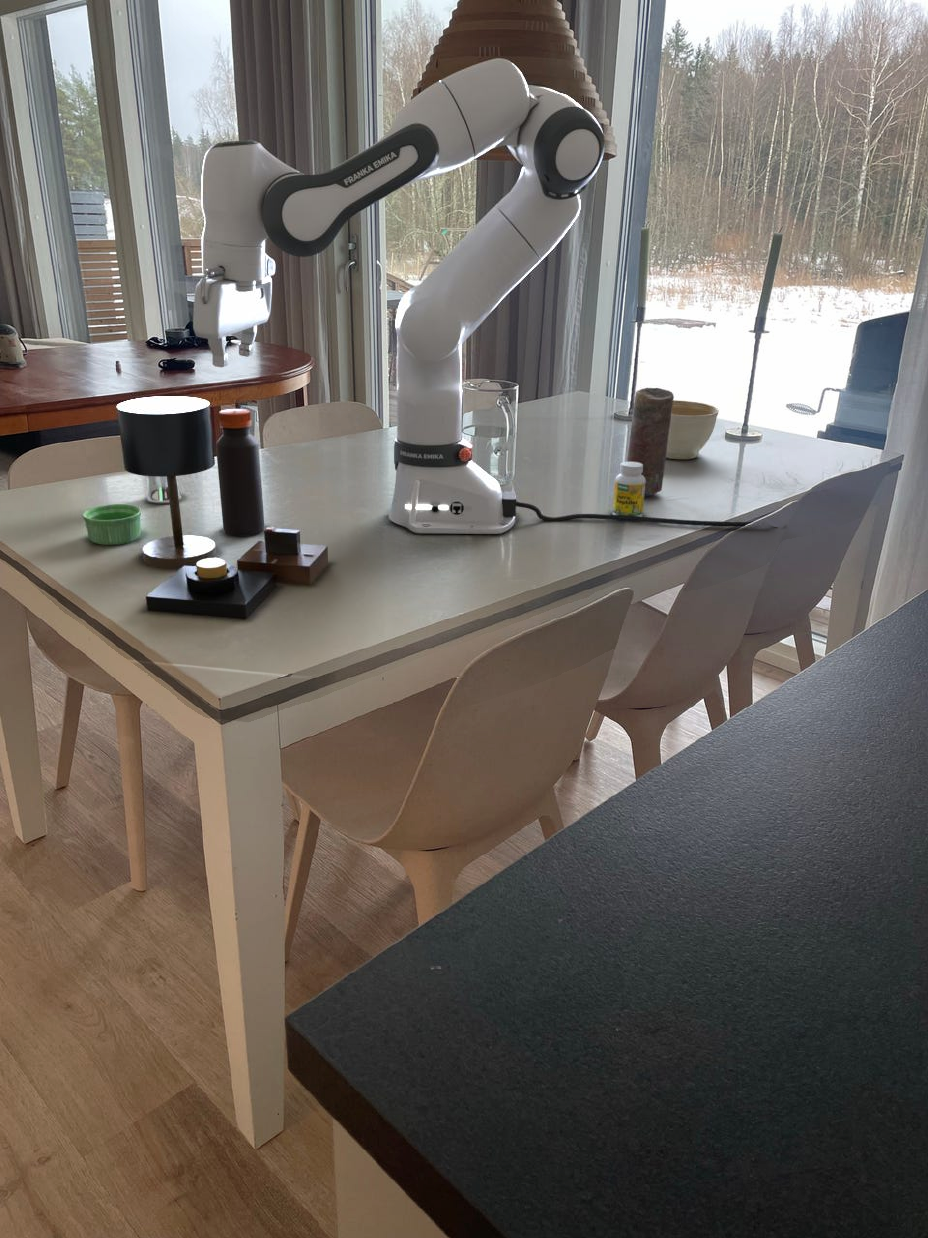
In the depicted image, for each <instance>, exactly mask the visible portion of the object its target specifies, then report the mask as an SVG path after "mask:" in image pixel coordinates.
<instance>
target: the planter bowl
mask: <svg viewBox="0 0 928 1238" xmlns="http://www.w3.org/2000/svg"><path fill="white" fill-rule="evenodd" d="M719 412H720V410H719V408H718V407H716V406H713V405H711V404H707V403H704V402H697V401H689V400H674V399H673V406H672V413H671V421H670V428H669V435H668V444H667V452H666V459H670V460H671V459H672V460H687V461H688V460H692V459H695V458H698V455H699V452H700V450H702V449H703V447H705V446H706V444H707V442H708V441H709V439H710V438H711V437H712V434H713V432H714V429H715V426H716V422H717V419H718V415H719Z"/></svg>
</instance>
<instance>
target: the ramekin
mask: <svg viewBox="0 0 928 1238" xmlns="http://www.w3.org/2000/svg"><path fill="white" fill-rule="evenodd" d="M141 516H142V509H141V507H139V506H137V505H134V504H129V503H128V504H126V503H113V504H103V505H99V506H94V507H91V508H89V509H87V510H85V511H83V513H82V519H83V521H84V523H85V527H86V532H87V535H88V539H89V540H90V541H91V542H92V543H95V544H98V545H104V546H114V545H115V546H116V545H122V544H123V545H124V544H127V543H131V542H134V541H136V540H138V539H139V538H140V537H141V535H142V534H141V533H142V527H141V523H142V522H141Z"/></svg>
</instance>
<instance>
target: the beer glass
mask: <svg viewBox="0 0 928 1238" xmlns="http://www.w3.org/2000/svg"><path fill="white" fill-rule="evenodd" d="M176 478H177V479H178V476H176ZM146 480H147V493H146V499H147V502H149V503H152V504H158V505H159V504H160V505H162V504H165V505H166V504H170V502H169V494H168V485H167V477H154V476H146ZM178 481H179V480H177V487H178V497H179V501H181V500H182V493H181V490H180V486H179V482H178Z"/></svg>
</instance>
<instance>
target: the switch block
mask: <svg viewBox="0 0 928 1238" xmlns="http://www.w3.org/2000/svg"><path fill="white" fill-rule="evenodd" d="M226 567H227V574H226V575H225V576H222V577H217V578H200V577H198V576H197V568H196V566H183V567H182V568H178V570H177V571H175V572H174V573H173V574H172V575H170V576H169V577H168V578H167V579H166V580H164V581H163V582H162V583H161V584H159V585H158V586H156V588H154V589H153V590H152V591H150V592H149V593H148V594H146V596H145V601H146V609H147V612H153V613H164V614H165V613H166V614H175V615H178V614H179V615H188V616H189V615H190V616H200V617H211V618H224V619H235V620H244V621H246V620H248V618H249V617H250V616H251V615H252V614H254V612H255V611H256V610H257V609H258V608H259V607H260V606H261V605H262V604H263V603H264V601H265V600H266V599H267V598H269V596H270V595H271V594H272V593H273V592H274V591H275V590H276V589H277V588H278V583H277V578H276V573H271V572H259V571H246V570H238V568H237V566H235V565H231V564H230V563H226Z"/></svg>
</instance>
